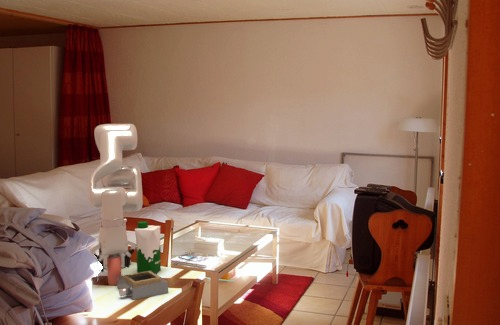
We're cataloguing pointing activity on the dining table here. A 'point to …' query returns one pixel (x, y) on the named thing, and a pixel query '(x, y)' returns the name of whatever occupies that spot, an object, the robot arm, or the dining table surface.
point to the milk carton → (148, 247)
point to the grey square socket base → (141, 285)
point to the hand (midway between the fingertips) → (114, 269)
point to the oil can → (113, 268)
